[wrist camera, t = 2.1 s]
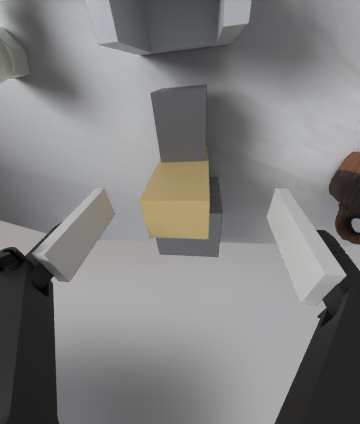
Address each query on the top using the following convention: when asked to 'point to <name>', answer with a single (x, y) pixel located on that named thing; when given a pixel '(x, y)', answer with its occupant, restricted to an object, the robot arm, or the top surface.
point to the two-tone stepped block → (179, 166)
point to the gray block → (199, 245)
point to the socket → (166, 23)
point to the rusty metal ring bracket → (347, 196)
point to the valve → (11, 57)
